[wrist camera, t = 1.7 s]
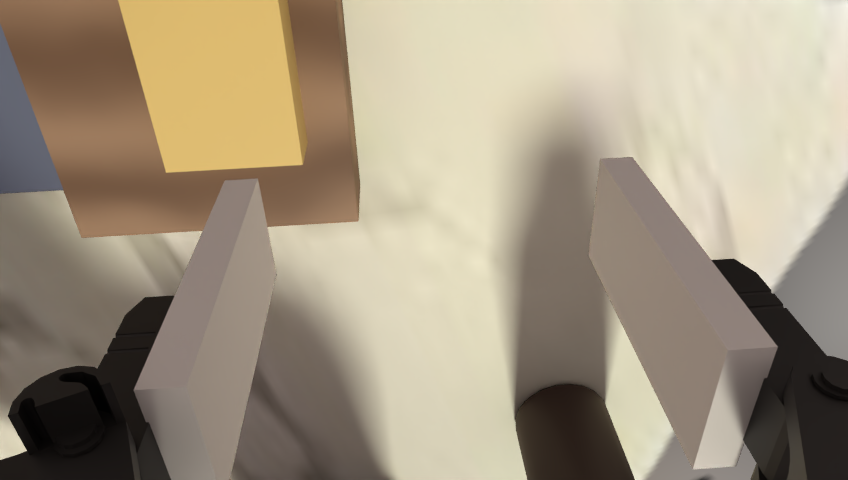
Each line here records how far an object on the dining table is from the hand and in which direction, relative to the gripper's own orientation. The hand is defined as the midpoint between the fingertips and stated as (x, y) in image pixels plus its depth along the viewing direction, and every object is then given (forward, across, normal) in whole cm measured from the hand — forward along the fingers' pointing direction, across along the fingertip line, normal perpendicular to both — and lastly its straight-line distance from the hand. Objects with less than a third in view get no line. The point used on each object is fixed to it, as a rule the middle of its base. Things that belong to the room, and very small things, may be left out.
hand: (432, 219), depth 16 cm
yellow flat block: (+15, +8, 0) cm, 17 cm away
